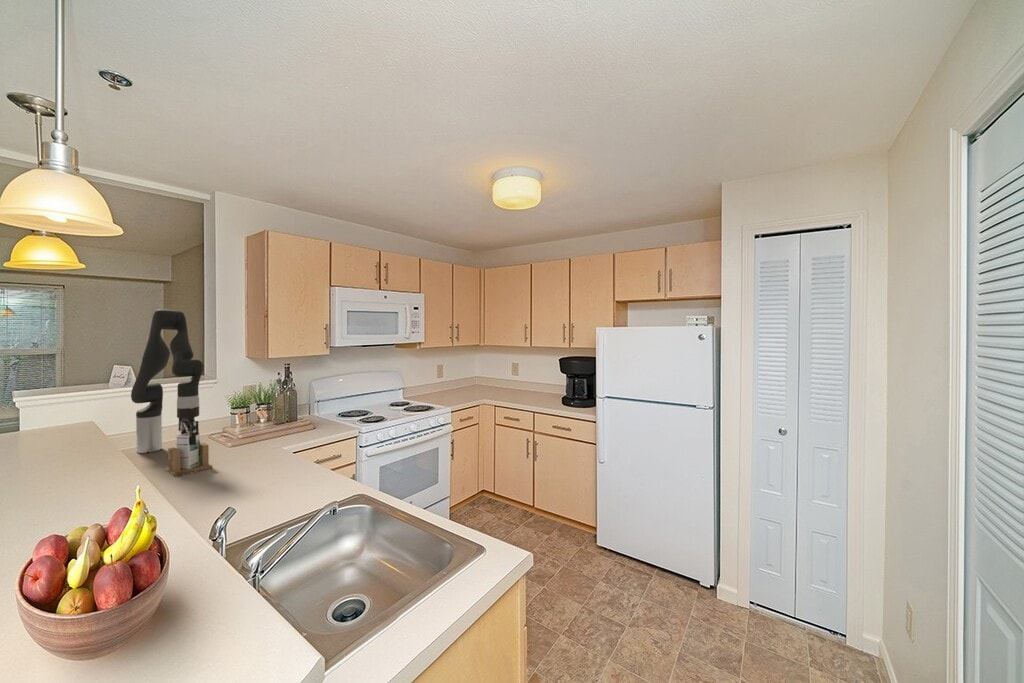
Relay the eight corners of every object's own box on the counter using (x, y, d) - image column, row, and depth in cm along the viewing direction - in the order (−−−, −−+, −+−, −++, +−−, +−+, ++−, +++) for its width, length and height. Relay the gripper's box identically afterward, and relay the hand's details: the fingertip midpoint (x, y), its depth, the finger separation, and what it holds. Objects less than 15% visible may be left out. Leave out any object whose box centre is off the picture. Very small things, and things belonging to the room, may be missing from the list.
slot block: (164, 470, 170) (164, 447, 170) (200, 462, 181) (200, 440, 181) (175, 476, 164) (175, 453, 163) (212, 467, 175) (212, 445, 174)
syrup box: (189, 469, 170) (189, 435, 169) (176, 468, 170) (176, 435, 169) (200, 464, 175) (200, 432, 175) (187, 464, 175) (187, 431, 175)
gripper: (171, 405, 172) (171, 442, 173) (184, 409, 164) (184, 448, 165) (192, 402, 178) (192, 438, 179) (205, 406, 171) (205, 443, 171)
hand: (188, 442), depth 172 cm, fingers open, 8 cm apart
